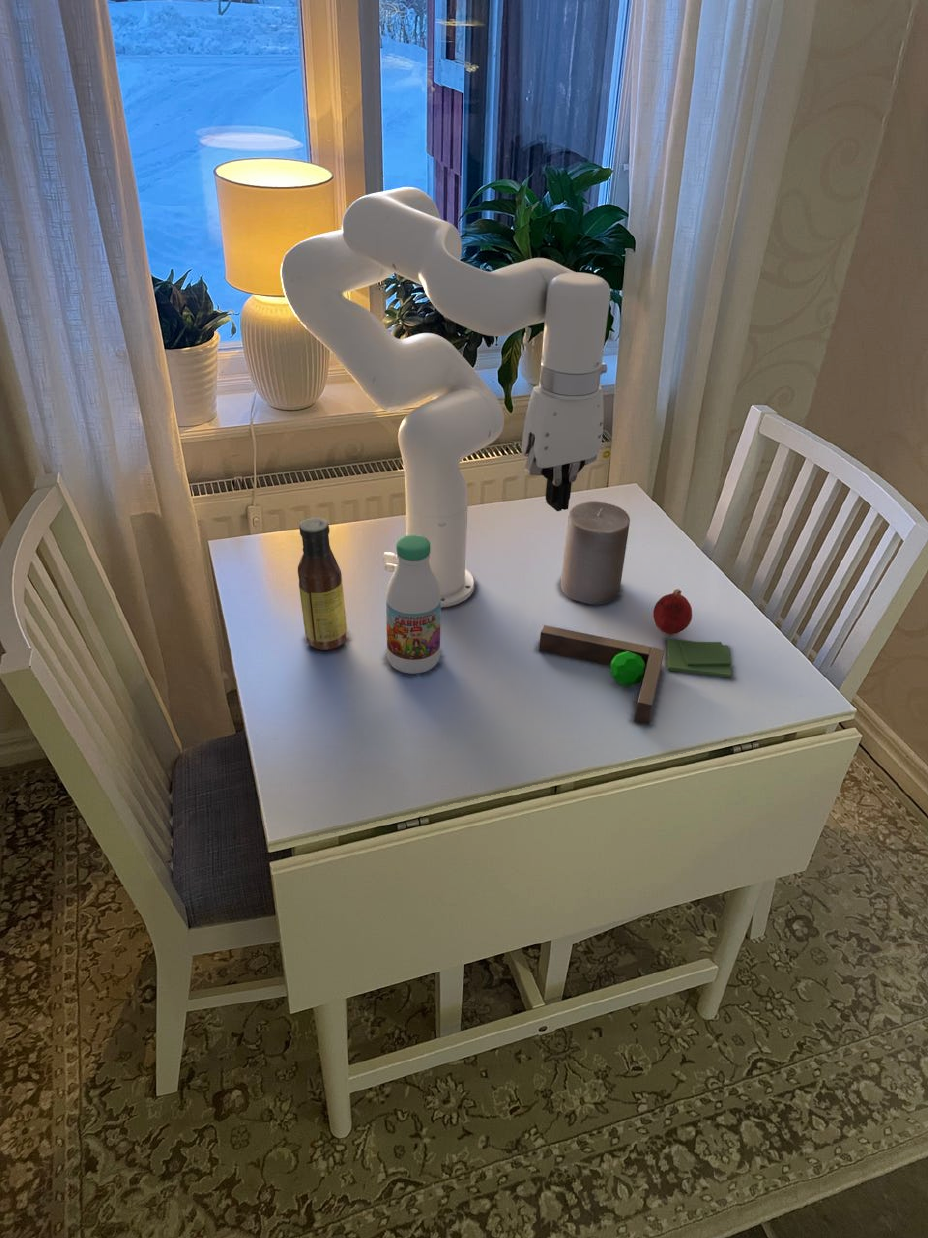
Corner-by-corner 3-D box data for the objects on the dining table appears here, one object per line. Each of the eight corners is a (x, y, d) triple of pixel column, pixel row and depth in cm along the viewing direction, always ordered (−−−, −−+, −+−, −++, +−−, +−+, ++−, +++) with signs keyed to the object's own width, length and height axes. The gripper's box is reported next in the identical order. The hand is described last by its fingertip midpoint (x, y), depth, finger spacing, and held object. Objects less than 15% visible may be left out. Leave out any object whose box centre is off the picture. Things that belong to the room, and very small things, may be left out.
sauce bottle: (355, 634, 141) (349, 519, 130) (333, 657, 137) (325, 540, 125) (318, 622, 143) (309, 509, 132) (295, 644, 139) (284, 529, 127)
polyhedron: (611, 667, 136) (615, 642, 134) (644, 674, 135) (649, 648, 133) (605, 688, 133) (609, 662, 130) (640, 695, 132) (645, 669, 129)
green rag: (668, 670, 136) (669, 664, 136) (667, 641, 142) (668, 635, 142) (730, 678, 135) (732, 672, 135) (727, 648, 141) (728, 642, 141)
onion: (687, 647, 141) (696, 604, 136) (649, 641, 142) (657, 598, 137) (687, 625, 146) (696, 582, 141) (650, 620, 147) (658, 577, 142)
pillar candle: (603, 568, 158) (614, 490, 149) (629, 600, 151) (642, 519, 142) (550, 577, 156) (558, 497, 147) (574, 610, 148) (584, 528, 139)
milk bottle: (379, 649, 138) (376, 533, 127) (428, 638, 141) (429, 523, 129) (397, 680, 133) (396, 562, 121) (447, 668, 135) (451, 551, 124)
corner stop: (520, 696, 131) (522, 677, 129) (541, 643, 141) (543, 624, 139) (648, 725, 127) (652, 705, 125) (661, 668, 137) (664, 649, 135)
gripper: (602, 359, 123) (586, 483, 134) (503, 376, 117) (496, 504, 128) (636, 379, 118) (617, 507, 128) (534, 397, 112) (524, 530, 122)
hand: (556, 505), depth 128 cm, fingers closed
